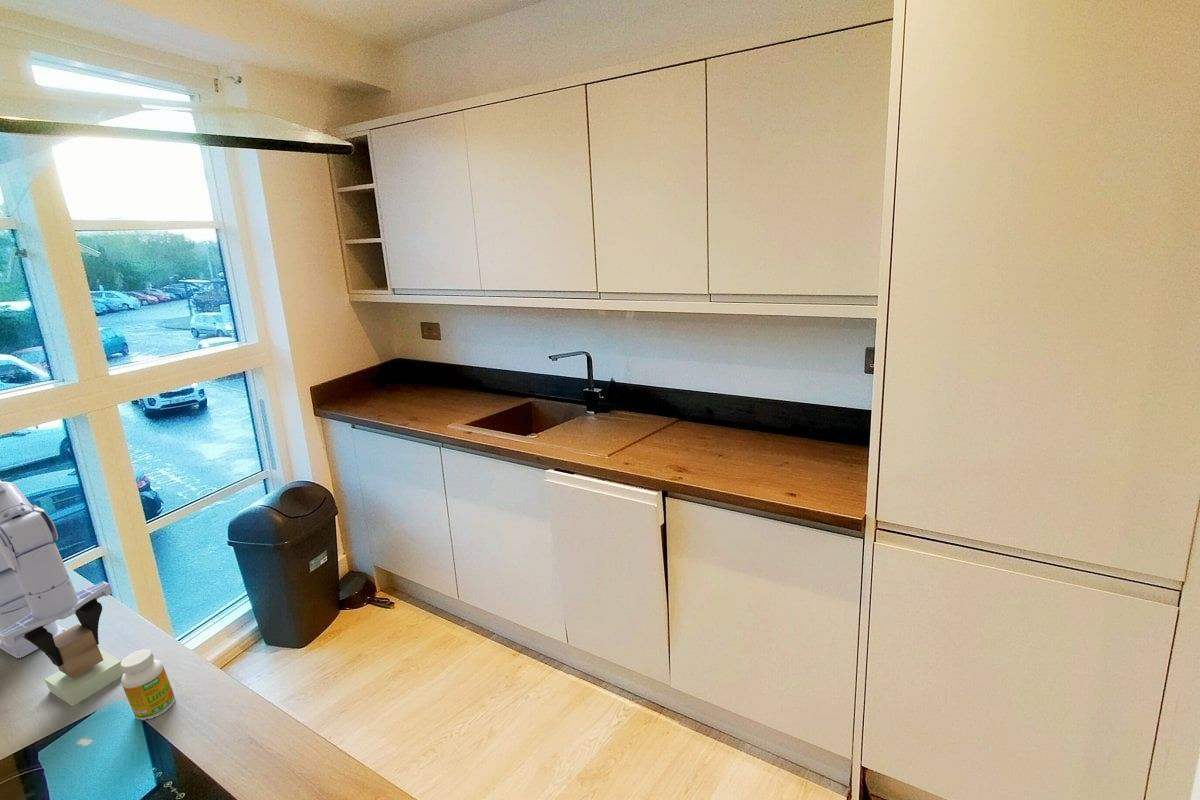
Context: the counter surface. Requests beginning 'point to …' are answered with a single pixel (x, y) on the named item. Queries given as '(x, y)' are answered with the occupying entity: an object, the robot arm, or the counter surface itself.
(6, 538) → the robot arm
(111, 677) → the sage block
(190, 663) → the counter surface
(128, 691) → the supplement bottle
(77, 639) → the walnut block
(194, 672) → the counter surface
